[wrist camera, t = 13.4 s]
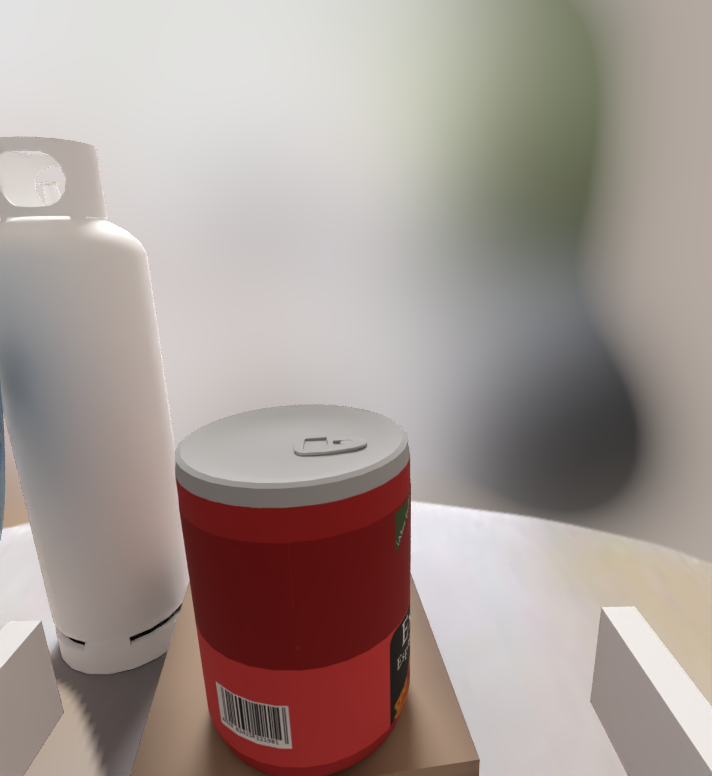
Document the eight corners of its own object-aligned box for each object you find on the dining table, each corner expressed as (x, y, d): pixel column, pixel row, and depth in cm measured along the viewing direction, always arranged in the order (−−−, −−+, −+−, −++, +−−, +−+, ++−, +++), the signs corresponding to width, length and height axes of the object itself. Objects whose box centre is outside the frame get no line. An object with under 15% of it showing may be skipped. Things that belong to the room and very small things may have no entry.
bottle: (206, 576, 36) (150, 159, 29) (184, 664, 29) (100, 127, 21) (89, 589, 35) (-1, 162, 28) (34, 683, 28) (-111, 128, 20)
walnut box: (145, 939, 18) (117, 815, 16) (208, 640, 31) (196, 556, 29) (473, 879, 19) (479, 759, 17) (397, 618, 32) (397, 536, 31)
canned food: (444, 744, 18) (451, 460, 15) (214, 827, 15) (167, 509, 13) (371, 605, 25) (366, 393, 22) (205, 648, 22) (173, 417, 20)
